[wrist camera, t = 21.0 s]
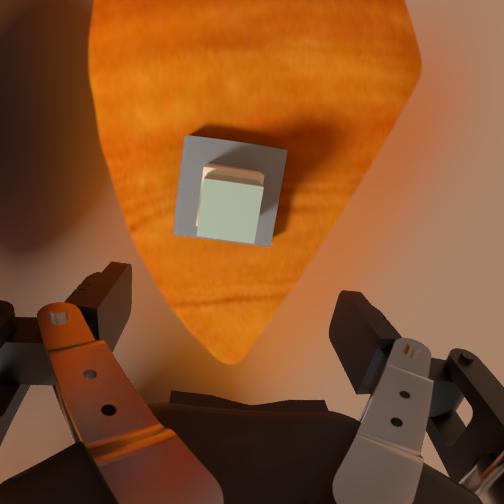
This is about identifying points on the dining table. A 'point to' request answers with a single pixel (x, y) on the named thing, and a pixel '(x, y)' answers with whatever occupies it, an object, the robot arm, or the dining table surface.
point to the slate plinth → (233, 155)
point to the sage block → (229, 208)
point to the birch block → (228, 172)
